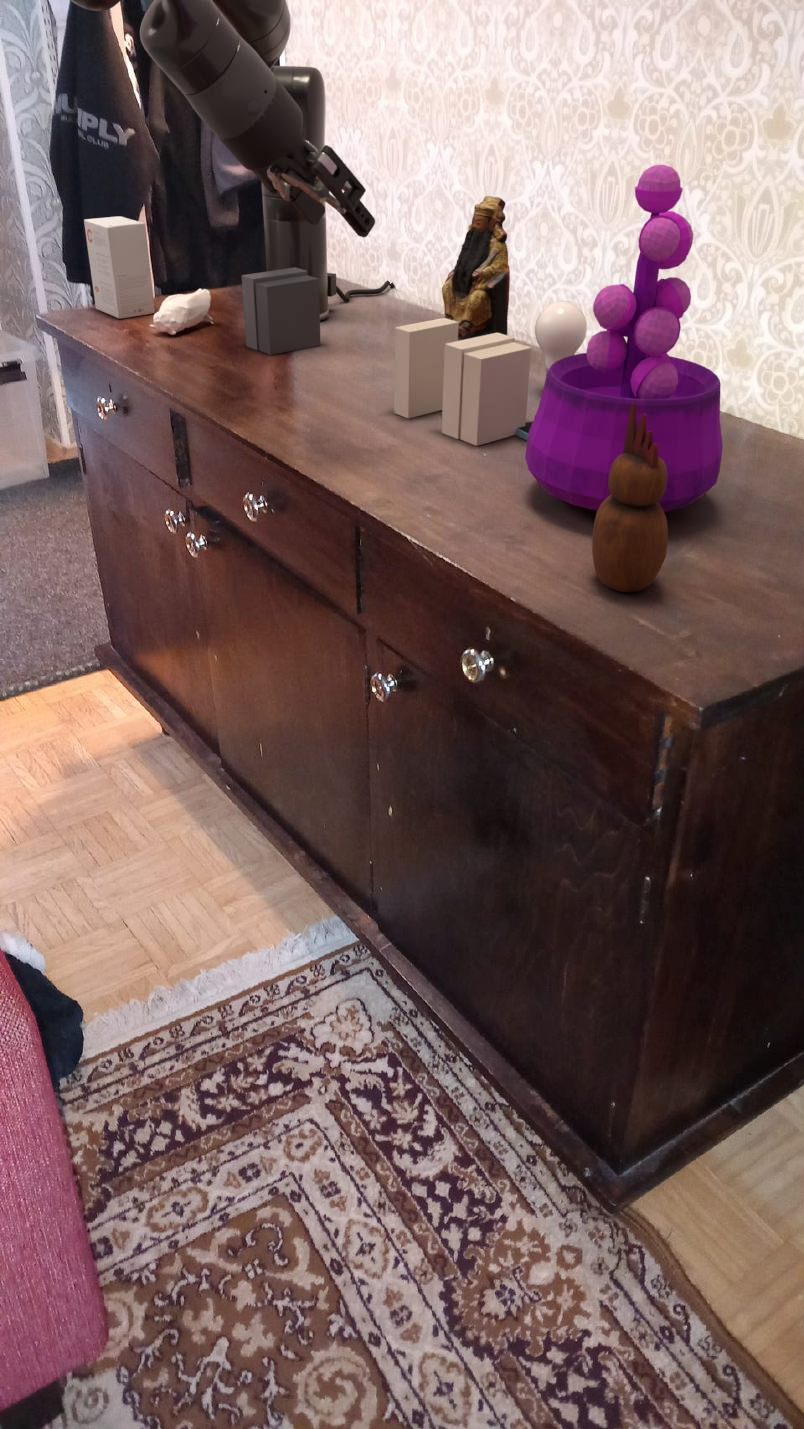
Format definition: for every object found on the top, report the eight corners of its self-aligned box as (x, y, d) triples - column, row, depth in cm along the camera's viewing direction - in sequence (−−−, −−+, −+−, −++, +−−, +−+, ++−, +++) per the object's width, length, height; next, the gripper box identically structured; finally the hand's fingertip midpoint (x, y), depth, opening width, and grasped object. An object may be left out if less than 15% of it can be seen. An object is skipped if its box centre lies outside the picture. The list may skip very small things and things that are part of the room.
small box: (156, 313, 166) (146, 222, 159) (118, 319, 163) (106, 226, 155) (131, 303, 171) (120, 214, 164) (94, 309, 168) (82, 218, 160)
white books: (441, 432, 122) (444, 343, 117) (492, 419, 127) (497, 332, 121) (475, 446, 119) (480, 355, 113) (526, 431, 123) (533, 343, 117)
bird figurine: (184, 329, 163) (144, 326, 155) (193, 283, 161) (153, 278, 152) (210, 339, 162) (171, 338, 153) (220, 293, 159) (181, 289, 151)
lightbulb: (586, 388, 137) (596, 299, 131) (571, 402, 132) (580, 310, 126) (539, 382, 139) (546, 293, 133) (522, 395, 134) (529, 304, 128)
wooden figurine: (580, 565, 94) (600, 396, 86) (645, 564, 95) (671, 395, 86) (599, 602, 88) (622, 424, 80) (667, 600, 89) (697, 423, 81)
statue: (428, 350, 151) (432, 194, 140) (475, 343, 154) (483, 190, 143) (474, 372, 142) (482, 208, 131) (523, 365, 145) (535, 204, 134)
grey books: (245, 346, 151) (241, 275, 146) (298, 336, 156) (295, 267, 151) (269, 355, 148) (265, 282, 142) (321, 344, 152) (320, 274, 147)
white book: (394, 413, 128) (395, 327, 122) (441, 401, 132) (444, 317, 126) (408, 418, 126) (409, 331, 121) (455, 406, 130) (458, 321, 125)
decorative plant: (547, 456, 117) (576, 146, 100) (720, 479, 112) (782, 158, 95) (502, 521, 102) (527, 171, 85) (699, 552, 97) (768, 186, 80)
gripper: (309, 72, 94) (407, 202, 107) (223, 63, 103) (322, 184, 116) (262, 144, 94) (365, 265, 107) (180, 129, 103) (284, 243, 116)
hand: (343, 223), depth 111 cm, fingers open, 8 cm apart
